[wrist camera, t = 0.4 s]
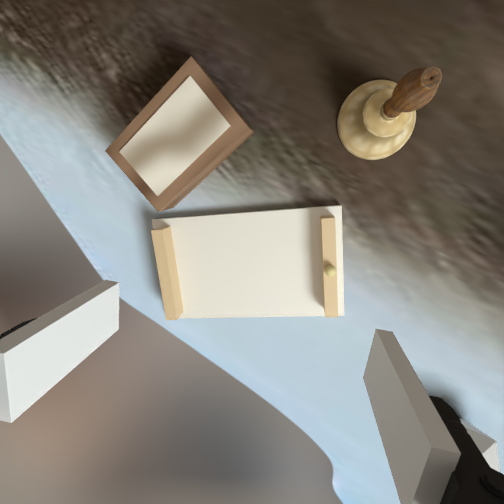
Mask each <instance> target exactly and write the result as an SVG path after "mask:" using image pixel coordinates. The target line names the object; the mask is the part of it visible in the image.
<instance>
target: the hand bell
mask: <svg viewBox="0 0 504 504" xmlns="http://www.w3.org/2000/svg"><path fill="white" fill-rule="evenodd" d="M441 79H442V73H441V71H440V69H439V68H437V67H433V66H432V67H429V68H418V69H415V70H413V71H411V72H409V73H407V74H406V75H405V76H404V77H403V78H402V79H401V80H400V81H399V82H398V83H395V82H393V81H389V80H373V81H369V82H367V83H364V84H362V85H361V86H359V87H357V88H356V89H355V90H353V91H352V92H351V93H350V94H349V95H348V97H347V98H346V99H345V101H344V103H343V104H342V106H341V109H340V111H339V115H338V121H337V128H338V134H339V137H340V140H341V142H342V144H343V145H344V147H345V148H346V149H347V150H348V151H349V152H350V153H352V154H353V155H355V156H357V157H359V158H362V159H367V160H377V159H382V158H385V157H388V156H390V155H392V154H394V153H395V152H397V151H398V150H399V149H400V148H401V147H403V146H404V144H405V143H406V142H407V141H408V139H409V138H410V136H411V134H412V132H413V129H414V126H415V121H416V110H418V109H420V108H421V107H423V106H424V105H426V104H427V103H428V102H430V100H431V99H432V98H433V97H434V95H435V93H436V91H437V89H438V86H439V83H440V82H441Z"/></svg>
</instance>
